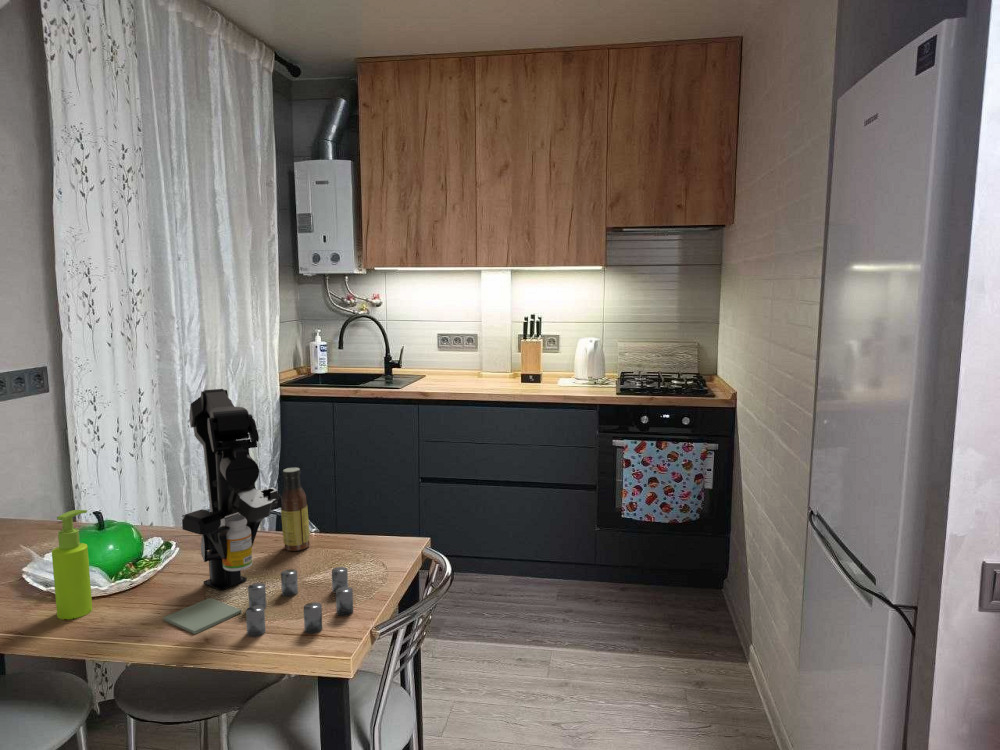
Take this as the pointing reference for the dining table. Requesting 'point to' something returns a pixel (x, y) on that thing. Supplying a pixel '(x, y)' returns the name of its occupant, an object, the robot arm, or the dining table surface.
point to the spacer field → (311, 610)
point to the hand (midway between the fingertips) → (236, 553)
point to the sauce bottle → (294, 512)
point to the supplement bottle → (238, 544)
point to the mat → (202, 615)
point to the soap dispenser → (71, 571)
